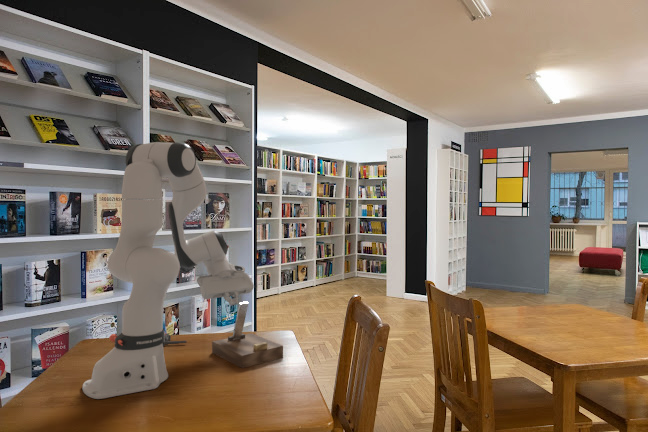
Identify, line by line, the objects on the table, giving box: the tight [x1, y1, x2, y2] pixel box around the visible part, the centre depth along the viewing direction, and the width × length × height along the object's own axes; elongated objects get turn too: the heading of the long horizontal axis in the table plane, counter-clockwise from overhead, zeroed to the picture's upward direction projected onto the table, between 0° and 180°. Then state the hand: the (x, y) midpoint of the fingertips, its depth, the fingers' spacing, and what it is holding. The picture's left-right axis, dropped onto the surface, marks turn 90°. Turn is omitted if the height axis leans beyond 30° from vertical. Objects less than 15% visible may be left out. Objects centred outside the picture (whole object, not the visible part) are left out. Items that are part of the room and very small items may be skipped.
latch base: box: [211, 332, 284, 369], centre depth 150 cm, size 16×20×6 cm
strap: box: [231, 301, 249, 339], centre depth 154 cm, size 3×14×1 cm
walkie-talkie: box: [164, 331, 188, 346], centre depth 163 cm, size 9×4×20 cm
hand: (234, 304), depth 157 cm, fingers closed
